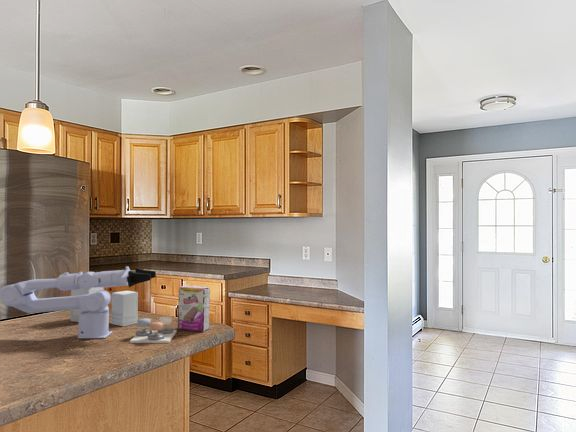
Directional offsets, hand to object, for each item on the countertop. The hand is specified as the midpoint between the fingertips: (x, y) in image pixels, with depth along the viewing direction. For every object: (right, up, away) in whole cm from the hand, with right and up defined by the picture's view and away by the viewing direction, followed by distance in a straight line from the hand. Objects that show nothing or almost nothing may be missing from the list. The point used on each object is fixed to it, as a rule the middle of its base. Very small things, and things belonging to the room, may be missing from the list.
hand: (153, 275), depth 154 cm
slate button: (-3, -18, -1) cm, 18 cm away
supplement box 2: (-17, -22, +17) cm, 32 cm away
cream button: (+4, -18, +2) cm, 18 cm away
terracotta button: (+3, -18, -6) cm, 19 cm away
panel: (+1, -22, -2) cm, 22 cm away
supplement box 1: (-34, -22, +21) cm, 46 cm away
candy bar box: (+13, -22, +10) cm, 27 cm away
